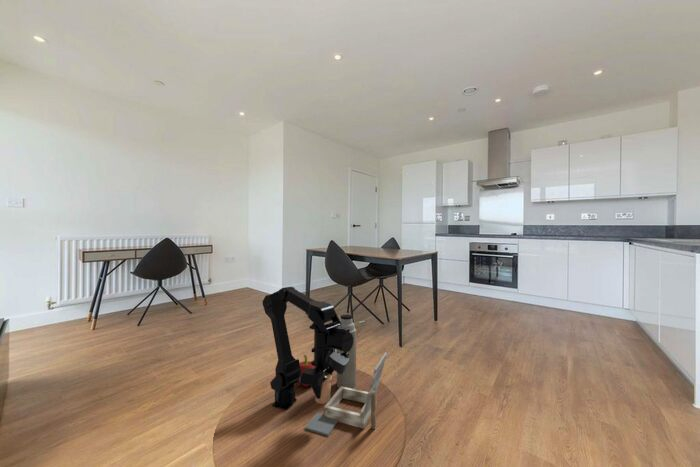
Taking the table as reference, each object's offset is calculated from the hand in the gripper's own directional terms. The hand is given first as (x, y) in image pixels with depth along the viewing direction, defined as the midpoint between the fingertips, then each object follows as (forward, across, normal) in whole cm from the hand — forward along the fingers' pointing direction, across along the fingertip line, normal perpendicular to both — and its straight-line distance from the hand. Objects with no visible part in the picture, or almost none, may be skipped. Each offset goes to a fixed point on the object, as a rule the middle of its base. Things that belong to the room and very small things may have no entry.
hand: (322, 393), depth 85 cm
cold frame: (+9, +10, -8) cm, 16 cm away
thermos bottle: (+10, +25, +2) cm, 27 cm away
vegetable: (+10, +20, +18) cm, 29 cm away
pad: (+9, 0, 0) cm, 9 cm away
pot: (+2, 0, 0) cm, 2 cm away
